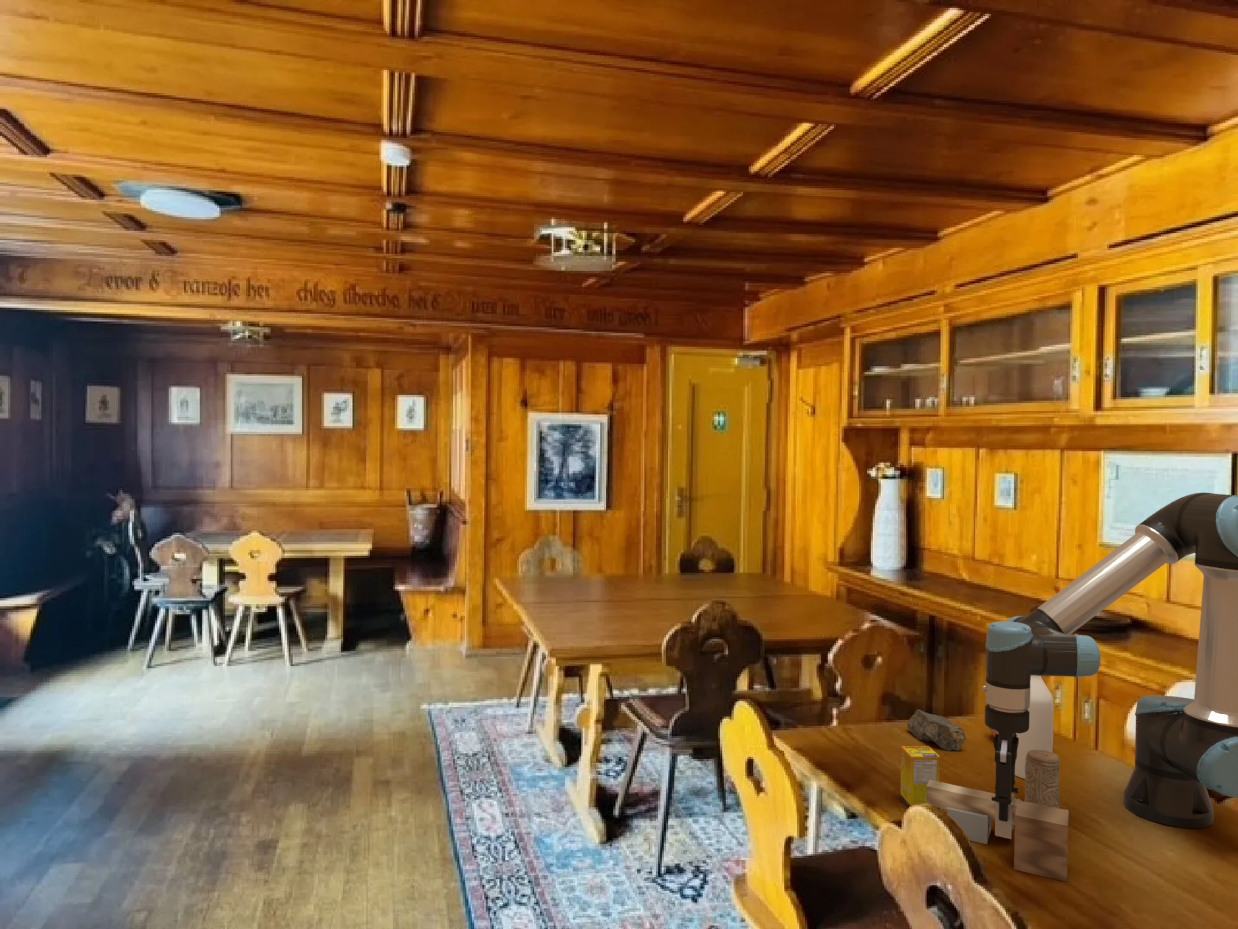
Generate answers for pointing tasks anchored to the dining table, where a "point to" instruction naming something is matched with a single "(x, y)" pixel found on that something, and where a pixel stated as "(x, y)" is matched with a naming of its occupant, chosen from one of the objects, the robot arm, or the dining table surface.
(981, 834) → the cradle
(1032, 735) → the bottle
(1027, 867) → the block
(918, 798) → the supplement box
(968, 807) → the axle bar
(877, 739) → the dining table surface
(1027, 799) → the carving
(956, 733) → the rock
